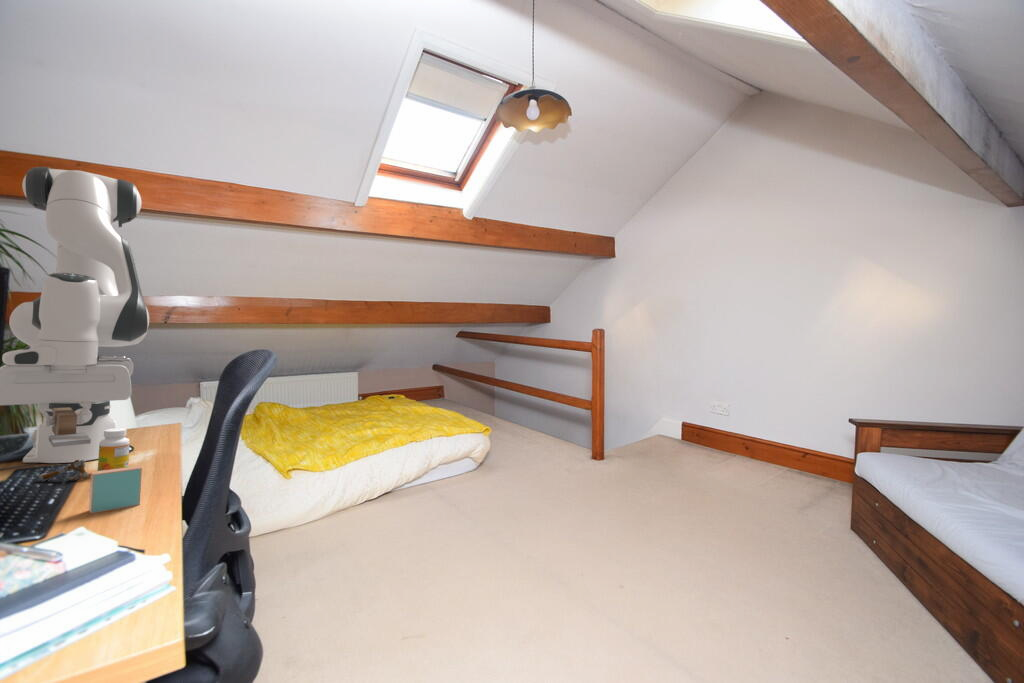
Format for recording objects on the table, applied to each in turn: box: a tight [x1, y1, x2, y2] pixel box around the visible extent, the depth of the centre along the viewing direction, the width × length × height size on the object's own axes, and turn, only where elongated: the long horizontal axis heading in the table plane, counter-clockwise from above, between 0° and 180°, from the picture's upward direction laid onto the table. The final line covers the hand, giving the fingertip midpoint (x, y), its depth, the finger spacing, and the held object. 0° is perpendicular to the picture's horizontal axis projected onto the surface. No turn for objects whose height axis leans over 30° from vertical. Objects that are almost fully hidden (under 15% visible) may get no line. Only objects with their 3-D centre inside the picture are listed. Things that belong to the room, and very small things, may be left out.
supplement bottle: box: [97, 427, 131, 471], centre depth 109 cm, size 5×5×10 cm
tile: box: [88, 465, 143, 515], centre depth 87 cm, size 2×7×7 cm, turn 139°
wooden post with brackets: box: [38, 460, 90, 481], centre depth 101 cm, size 2×8×4 cm, turn 105°
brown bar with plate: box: [49, 407, 91, 447], centre depth 91 cm, size 17×5×4 cm, turn 49°
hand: (63, 425), depth 93 cm, fingers closed on brown bar with plate, 2 cm apart
